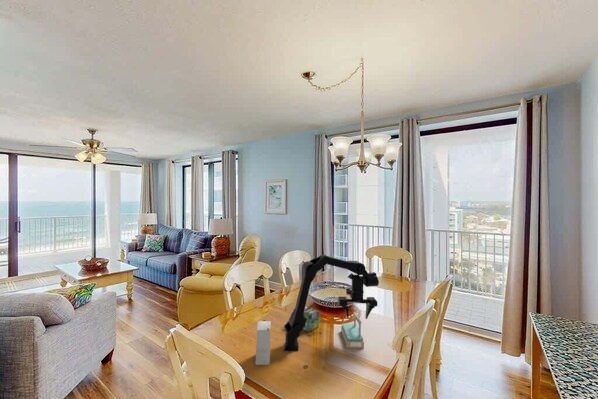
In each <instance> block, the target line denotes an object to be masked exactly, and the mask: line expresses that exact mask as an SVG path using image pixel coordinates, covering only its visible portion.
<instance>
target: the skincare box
mask: <svg viewBox="0 0 598 399" xmlns="http://www.w3.org/2000/svg"><path fill="white" fill-rule="evenodd" d="M271 323H272V322H271V321H270V320H268V321H267V320H266V321H264V320H263V321H262V320H258V321H257V326H256V327H257V328H256V344H255V345H256V346H255V363H254V364H255V365H257V366H261V365H262V366H267V365H268V366H269V365H270V360H271V359H270V358H271V340H272V339H271V336H272V335H271V334H272V333H271V326H272V325H271Z"/></svg>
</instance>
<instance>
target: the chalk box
mask: <svg viewBox="0 0 598 399" xmlns="http://www.w3.org/2000/svg"><path fill="white" fill-rule="evenodd" d="M304 315H305V317H306V318H307V320H306V323H305V328H303V330H302V331H305V332H308V333H310V332H312V331H313V330H316V329H318V327H320V322H322V319H320V310H319V309H316V308H313V307H310V306H308V305H307V304H306V305H305V310H304Z"/></svg>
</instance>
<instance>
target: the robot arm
mask: <svg viewBox="0 0 598 399" xmlns="http://www.w3.org/2000/svg"><path fill="white" fill-rule="evenodd" d="M326 265H329V266H331V267H332V266H333V267H337V268H340V269H344V270H348V271H350V272H352V273H350V274H349V275H347V278H348V279H350V280H351V288H350V287H349V288H347V287H346V290H345V295H348V296H349V298H347V296H338V297H337V303H338V306H340V307H341V308H343V309H344V312H345V316H346V318H347V320H348V319H349V306H348V305H349V304H365V307H366V308H365V314H364V315H365V319H366V320H367V319H368V317H369V316H370V313H371V312H372V310H374V309H375V307H378V300H377V299H376V298H375V297H374V296H367V297H366V299H365V298H364V293H365V292H364V286H365V287H366V288H369V287H370V288H371V287H373V288H374V287H379V284H380V283H379V282H380V281H379V278H378V275H377V273H376V272H375V271H374V272H373V271H372V272H368V271H367V269H366V266H365V264H364V263H362V262H360V261H357V260H345V259H341V258H337V257H333V256H329V255H327V254H321V255H319V256H317V257H315V258H312V259H310V260H309V261H305V262H303V263H302V266H301V283H300V287H299V290H298V295H297V299H296V302H295V308H293V311H292V312H291V313H290V317H289V318H288V321H287V322H286V324H284V325H283V328H284V330H285V342H284V348H283V349H284V351H287V352H288V351H291V352H292V351H295V352H296V351H299V342H298V340H299V339H298V338H300V335H301V332H303V331H304V330H303V328H305V323H306V320H307V318H306V317H305V315H304V310H305V305H306V306H307V301H308V296H309V293H310V289H311V284H312V282H314V279H315V278H316V276H317V272H319V271H321V270H322V269H323V268H324V267H325V266H326ZM353 273H354V274H353Z"/></svg>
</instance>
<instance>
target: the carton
mask: <svg viewBox="0 0 598 399" xmlns="http://www.w3.org/2000/svg"><path fill="white" fill-rule="evenodd" d="M340 328H341V329H340V332H341V333H342V337H343V340H344V343H345V346H346V348H347V349H348V348H349V349H364V348H365V341H364V339H363V340H348V339H347V336H346V334H345V331H344V328H343V326H342V325H341V326H340Z"/></svg>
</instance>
